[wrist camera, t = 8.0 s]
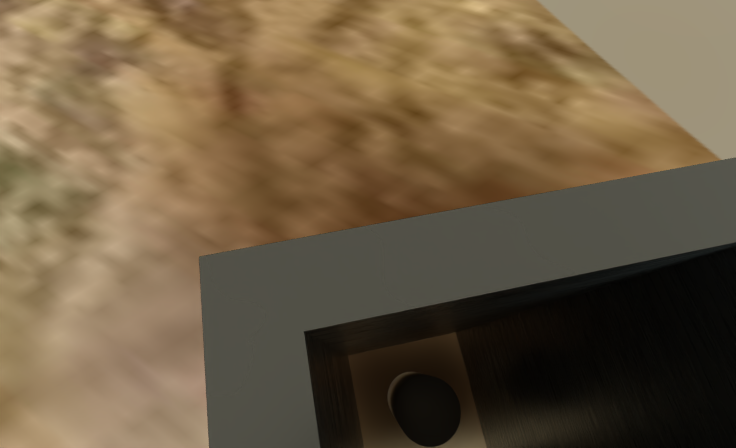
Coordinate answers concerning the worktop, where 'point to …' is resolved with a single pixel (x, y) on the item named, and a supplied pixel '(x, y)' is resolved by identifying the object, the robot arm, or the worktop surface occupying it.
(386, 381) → the tan piece
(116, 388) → the worktop surface
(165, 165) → the worktop surface
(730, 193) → the open square box
